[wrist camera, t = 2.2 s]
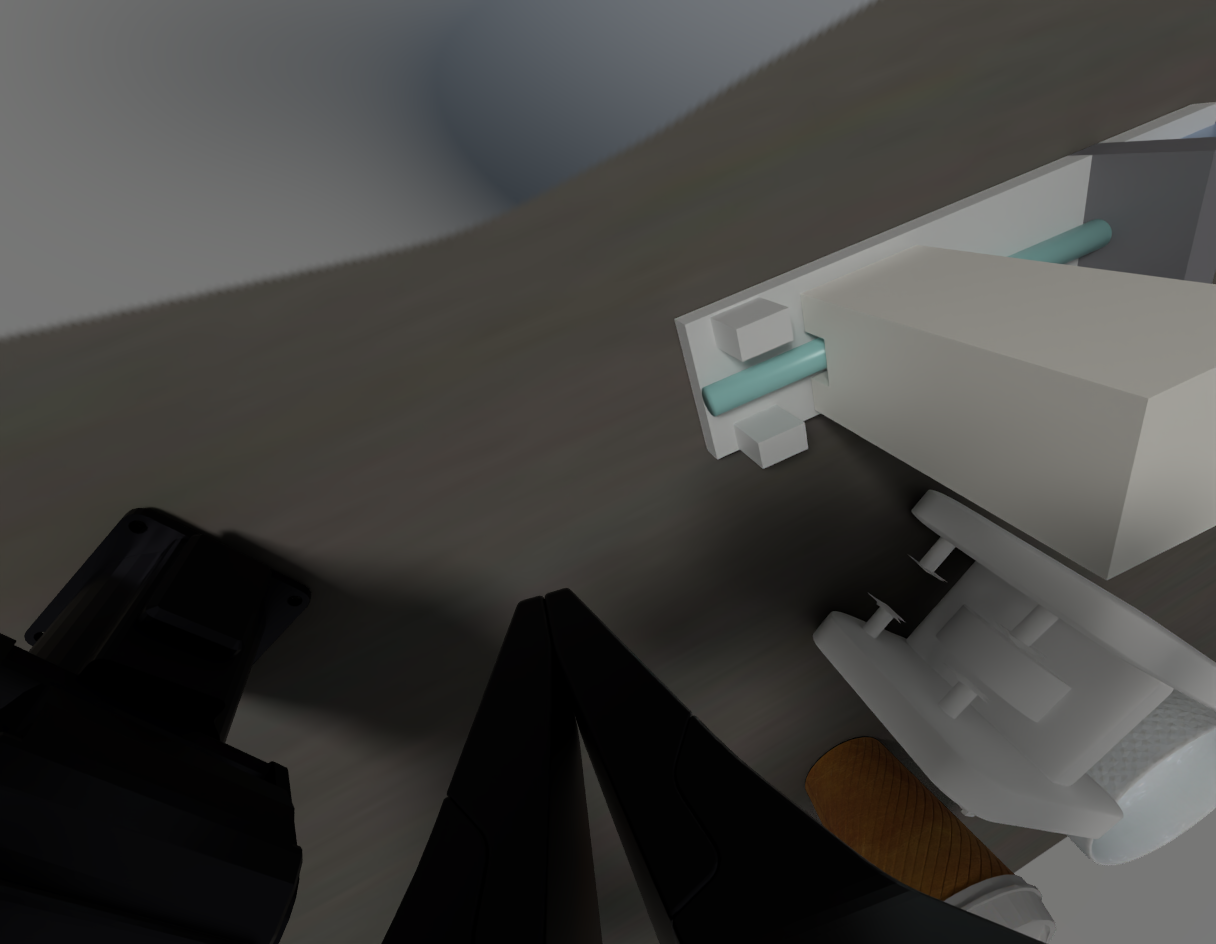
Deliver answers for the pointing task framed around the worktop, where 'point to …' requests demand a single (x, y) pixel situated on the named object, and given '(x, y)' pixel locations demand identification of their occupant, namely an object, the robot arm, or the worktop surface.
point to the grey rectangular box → (1033, 392)
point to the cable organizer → (1014, 677)
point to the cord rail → (982, 223)
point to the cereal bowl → (1157, 780)
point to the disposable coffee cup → (918, 837)
